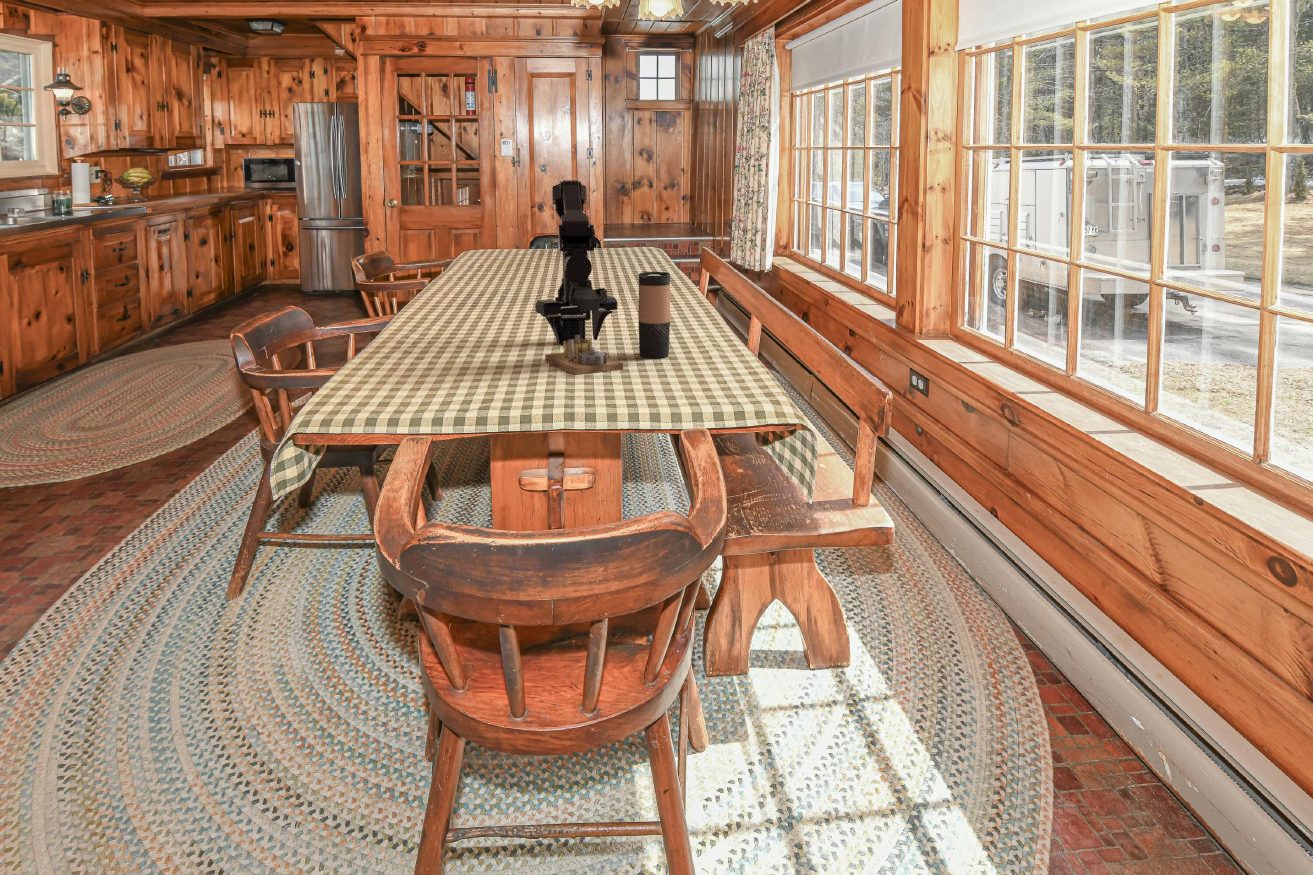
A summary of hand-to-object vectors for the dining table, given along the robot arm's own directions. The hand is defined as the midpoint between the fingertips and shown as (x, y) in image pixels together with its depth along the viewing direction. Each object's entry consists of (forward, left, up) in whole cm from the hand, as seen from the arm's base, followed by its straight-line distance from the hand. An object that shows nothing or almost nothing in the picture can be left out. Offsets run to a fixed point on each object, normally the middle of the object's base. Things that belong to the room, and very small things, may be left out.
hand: (577, 341), depth 225 cm
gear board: (0, +3, -5) cm, 6 cm away
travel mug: (-19, +2, -5) cm, 20 cm away
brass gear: (0, 0, -4) cm, 4 cm away
